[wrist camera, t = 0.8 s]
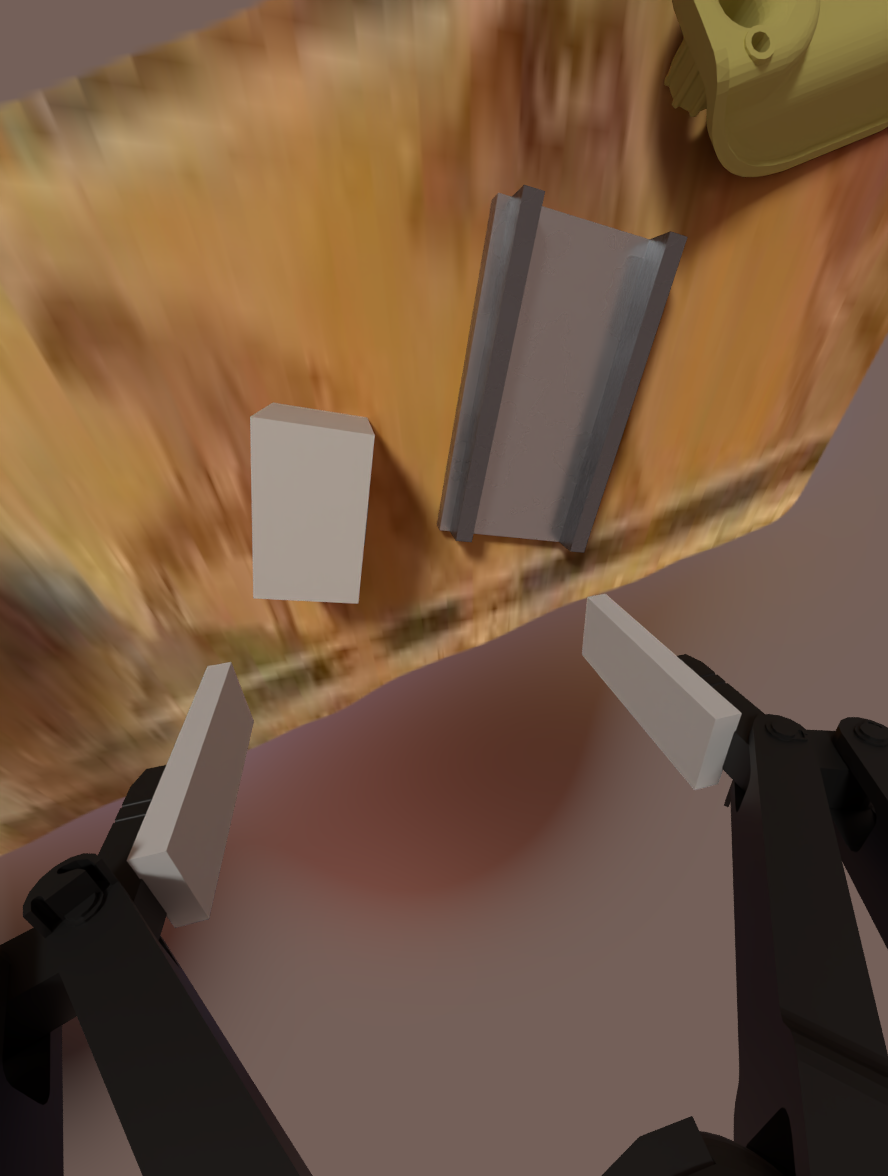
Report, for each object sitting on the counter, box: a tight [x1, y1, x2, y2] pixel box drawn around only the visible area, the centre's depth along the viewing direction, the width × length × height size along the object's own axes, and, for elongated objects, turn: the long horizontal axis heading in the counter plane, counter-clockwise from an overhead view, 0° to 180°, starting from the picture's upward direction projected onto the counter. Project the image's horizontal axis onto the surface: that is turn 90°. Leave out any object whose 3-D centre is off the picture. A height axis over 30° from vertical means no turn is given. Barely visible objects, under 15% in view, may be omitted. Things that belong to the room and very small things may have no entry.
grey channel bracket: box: [437, 185, 687, 553], centre depth 30 cm, size 12×20×3 cm, turn 171°
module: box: [250, 403, 375, 604], centre depth 28 cm, size 6×10×8 cm, turn 171°
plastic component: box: [664, 0, 888, 177], centre depth 23 cm, size 20×7×10 cm
